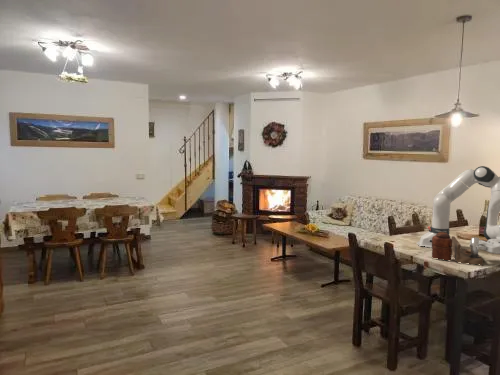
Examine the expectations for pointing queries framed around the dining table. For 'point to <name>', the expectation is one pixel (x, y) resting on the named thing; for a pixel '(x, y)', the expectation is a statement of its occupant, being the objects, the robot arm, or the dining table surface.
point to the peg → (474, 247)
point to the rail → (463, 254)
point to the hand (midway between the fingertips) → (473, 246)
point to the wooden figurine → (442, 246)
